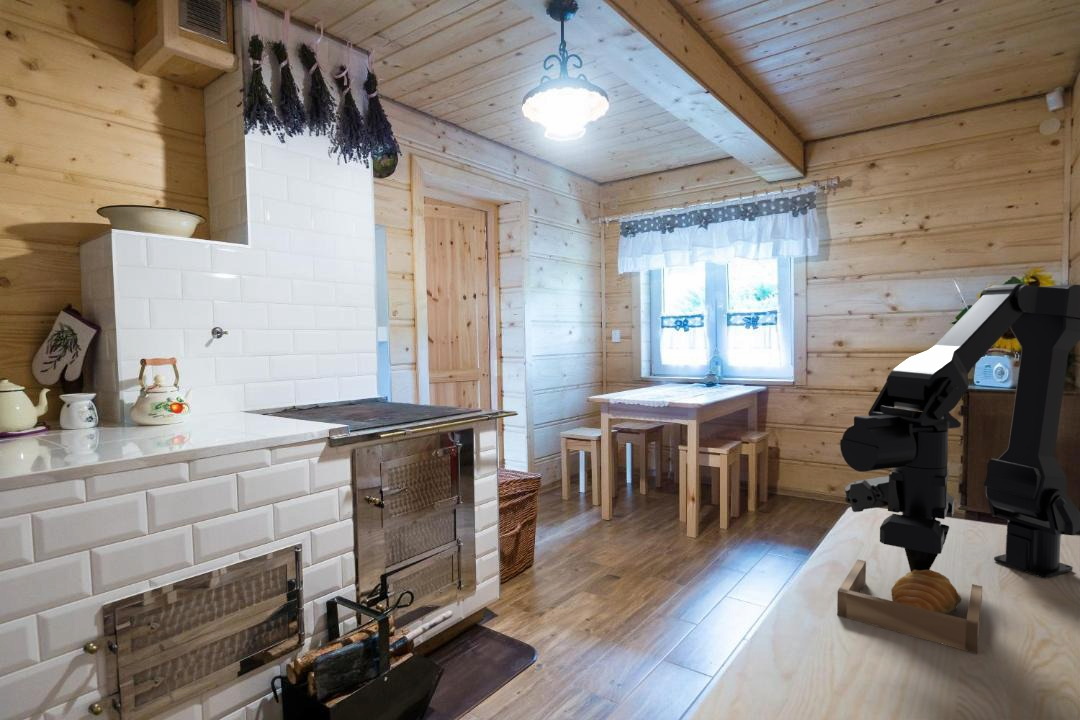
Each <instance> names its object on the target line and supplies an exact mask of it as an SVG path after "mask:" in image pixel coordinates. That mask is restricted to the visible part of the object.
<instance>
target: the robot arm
mask: <svg viewBox="0 0 1080 720" xmlns="http://www.w3.org/2000/svg"><path fill="white" fill-rule="evenodd" d="M1009 329H1010V330H1011V332H1012V334H1013V335H1014V338H1015V339H1016V340H1017V342H1018V343H1019V345H1020V347H1021V351H1020V359H1019V360H1020V361H1019V365H1018V366H1019V367H1018V375H1017V380H1016V381H1017V382H1016V389H1015V396H1014V402H1013V412H1012V418H1011V424H1010V425H1011V426H1010V432H1009V439H1008V447H1007V449H1006V450H1005V451H1004V452H1003V453H1002V454H1001V455H1000V456H999V457H998V458H990V459H989V461H988V462H987V465H986V468H987V469H986V477H985V481H984V483H983V486H984V487H985V489H984V490H985V495H986V499H987V502H988V507H989V510H990V514H991V516H992V517H995V518H1000V519H1002V520H1003V519H1004V520H1007V523H1006V535H1005V553H1004V554H1001V555H997V556H994V558H993V561H995V562H996V563H1001V564H1003V565H1005V566H1009V567H1012V568H1013V569H1018V570H1020V571H1023V572H1026V573H1029V574H1031V575H1034V576H1038V577H1040V578H1045V579H1047V578H1051V577H1054V576H1057V575H1061V574H1064V573H1069V572H1072V571H1073V568H1074V567H1073V566H1071V565H1068V564H1066V563H1063V562H1061V539H1062V538H1061V536H1062V535H1064V536H1065V535H1066V536H1076V535H1077V532H1080V510H1079V509H1078V508H1077V506H1076V505H1075V504H1074V502H1073V501H1072V500H1071V498H1070V497H1069V496H1068V495H1067V491H1068V489H1067V488H1068V487H1067V486H1068V478H1067V476H1066V474H1065V473H1064V470H1063V469H1062V467H1061V465H1060V464H1059V461H1058V460H1057V458H1056V457H1055V452H1056V445H1057V437H1058V431H1059V424H1060V419H1061V418H1060V416H1061V409H1062V403H1063V402H1062V401H1063V396H1064V395H1063V394H1064V389H1065V381H1066V374H1067V373H1066V372H1067V366H1068V358H1069V354H1070V351H1071V350H1072V349H1073V348H1074V347H1075V346H1076V345H1077V344H1078V342H1079V341H1080V284H1062V285H1047V286H1045V285H1043V286H1036V285H1030V284H1025V283H1022V282H1021V283H1008V284H1007V283H1006V284H994V285H990V286H988V287H985V288H984V289H983V290H982V291H981V293H980V295H979V299H978V300H977V301H976V302H975V303H974V304H973V305H972V306H971V307H970V308H969V309H968V310H967V311H966V312H965V313H964V314H963V315H962V316H961V317H960V319H959V320H957V322H956V323H955V324H954V325H953V326H952V327H951V328H950V329H948V331H947V332H946V333H945V334H944V335H943V337H941V338H940V339H939V340H938V341H937V342H936V343H935V344H934V345H933V346H932V347H931V348H929V349H928V350H925V351H923V352H920V353H917V354H916V355H912V356H910V357H908V358H907V359H905V360H904V361H902V362H901V363H900V364H899V365H897V366H896V367H894V368H893V369H892V370H891V371H890V373H889V374H888V375H887V378H886V381H885V383H884V385H883V387H882V389H881V390H880V392H879V394H878V396H877V397H876V399H875V400H874V401H873V404H872V406H871V407H870V410H869V411H868V416H867V415H854V417H853V425H851V426H850V427H848V428H846V430H845V431H844V433H843V435H842V438H841V439H840V443H839V445H840V446H839V447H840V452H841V455H842V457H843V459H844V462H845V463H846V464H847V466H849V467H850V468H852V469H853V470H854V471H857V472H860V473H864V472H865V473H866V472H873V471H874V472H875V471H880V470H887V469H889V470H890V469H893V470H892V471H890V472H889V475H887V476H879V477H874V478H873V477H872V478H867V479H862V480H855V481H853V482H850V483H849V484H848V485H847V486H845V488H844V492H845V499H844V500H845V503H847V504H848V505H850V508H851V510H852V512H853V513H859V512H863V511H864V510H869V509H877V508H882V507H886V506H887V511H888V512H891V513H892V514H890V515H889V516H887V517H886V518H885V519H884V520H883V522H882V523H881V525H880V526H879V543H881V544H883V545H887V546H892V547H896V548H897V547H898V548H902V549H904V552H905V555H906V559H907V563H908V566H909V570H910V572H912V571H913V570H918V571H921V570H931V567H933V564H934V563H935V561H936V559H937V557H938V555H940V554H942V552H943V551H942V550H944V549H943V548H944V545H945V543H946V539H947V536H948V534H949V530H950V526H949V525H947V524H942V522H941V521H940V520H939V519H941V520H945V518H946V516H947V517H951V518H953V516H954V513H955V498H954V497H953V496H952V495H951V494H950V493H949V492H948V480H949V478H950V470H949V469H948V461H949V460H948V459H949V456H948V455H949V430H950V429H957V428H958V429H959V428H960V427H962V424H961V422H960V421H959V420H958V419H957V418H956V417H954V416H953V415H952V414H951V413H950V412H951V411H953V410H954V409H955V407H956V406H957V405H958V404H959V402H960V401H961V399H962V398H963V396H964V395H965V393H966V392H967V390H968V389H969V373H970V372H971V370H972V368H974V366H975V365H976V364H977V363H978V362H979V361H980V360H981V359H982V357H984V356H985V355H986V354H987V352H988V351H990V349H991V348H993V346H994V345H995V344H996V343H997V342H998V341H999V340H1000V338H1002V337H1003V336H1004V334H1005V333H1006V332H1008V330H1009ZM897 513H901V514H897Z"/></svg>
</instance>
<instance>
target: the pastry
mask: <svg viewBox="0 0 1080 720" xmlns="http://www.w3.org/2000/svg"><path fill="white" fill-rule="evenodd" d="M890 590H891V598H892V599H891V601H894V602H898V603H902V604H906V605H910V606H914V607H918V608H922V609H926V610H930V611H934V612H938V613H942V614H946V615H950V616H953V613H955V612H956V611H957V607H958V606H959V605H960V603H961V602H962V597H961V595H960V594H959V593H958V591H957V589H956V587H955V586H954V585H953V584H952V583H951V581H950V579H949V578H948V577H947V576H945V575H943V574H942V573H940V572H937V571H934V570H932V569H930V570H921V571H918V570H913V571H912V572H911V571H910V572H907V573H906V574H905V575H904V576H902V577H900V578H898V580H897V581H895V583H894V585H893V586H892V588H891V589H890Z"/></svg>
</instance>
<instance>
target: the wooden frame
mask: <svg viewBox="0 0 1080 720" xmlns="http://www.w3.org/2000/svg"><path fill="white" fill-rule="evenodd" d="M866 571H867V561H866V560H863V559H856V561H855V563H854V564H853V566H852V568H851V569H850V570H849V572H848V574H847V575H846V577H845V578H844V580H843V582H842V583H841V585H840V586H839V588H838V590H837V599H836V602H837V603H836V604H837V608H836V609H837V612H836V613H837V616H840V617H843V618H847V619H850V620H853V621H859V622H861V623H865V624H868V625H873V626H876V627H879V628H882V627H883V629H886V628H887V630H890V631H893V630H894V632H897V631H898V633H901V634H904V635H908V636H912V637H915V638H919V639H923V640H926V641H929V640H930V642H933V641H934V643H937V642H938V643H937V644H940V643H943V644H942V645H944V644H946V645H945V646H947V645H949V646H948V647H951V646H952V648H955V649H959V650H962V651H966V652H969V653H973V654H978V645H979V636H980V627H981V620H982V611H983V609H982V608H983V607H982V606H983V586H982V585H979V584H978V585H977V584H974V583H973V584H971V590H970V596H969V602H968V607H967V615H966V618H961V617H958V616H955V615H954V616H953V615H946V614H942V613H938V612H934V611H930V610H926V609H922V608H918V607H914V606H910V605H906V604H902V603H898V602H894V601H892V600H890V599H885V598H881V597H878V596H874V595H869V594H865V593H862V590H863V588H864V586H865V585H866V580H867V578H866V577H867V573H866Z"/></svg>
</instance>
